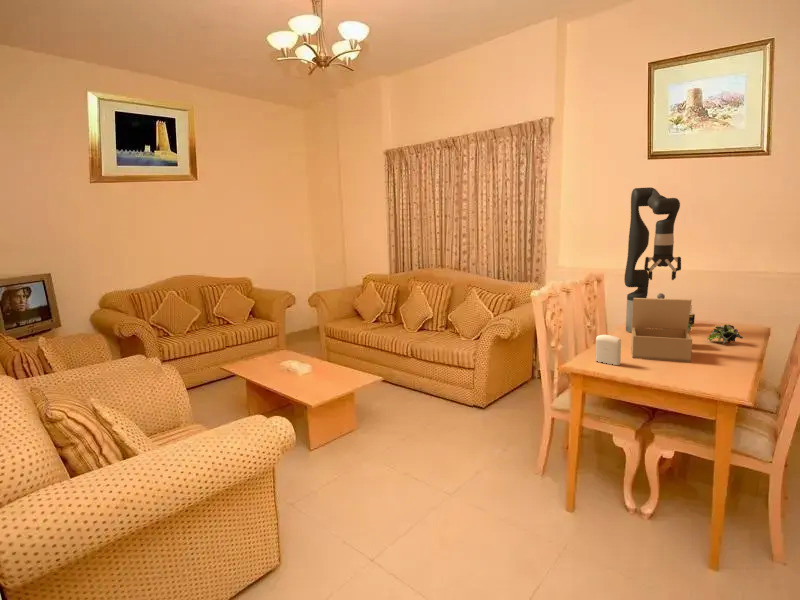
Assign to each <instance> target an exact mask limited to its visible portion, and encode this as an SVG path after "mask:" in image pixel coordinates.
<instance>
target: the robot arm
mask: <svg viewBox="0 0 800 600" xmlns="http://www.w3.org/2000/svg"><path fill="white" fill-rule="evenodd" d="M640 207H649V208H650V209H651V210H652V213H653V214H654V215H658V216H659V215H660V216H661V215H668V216H667V217H666V218H664V219H661V220H657V221H656V222H655V233H654V240H653V255H652V257H649V256H645V259H644V266H643V269H636V265H637V263H638V261H639V259H640V258H641V256H642V255H643V254H644V252H645V251H646V250H647V248H648V246H649V241H650V230H649V228H648V226H647V225H646V223H645V222H644V221H643V218H642V217H641V214H640ZM680 208H681V201H680V199H679V198H677V197H666V196H663V195H662V194H660V192H658V190H657V189H656V188H654V187H635V188H633V189H632V191H631V195H630V225H629V232H628V245H627V259H626V265H625V270H624V271H625V272H624V284H625V286H626V288H637V289H635V290H634V291H632V292H630V293H628V294H626V316H625V319H626V320H625V331H626V332H628V333H632V314H633V299H634V298H648V293H649V292H648V291H649V284H650V281H652V280H653V270H654V269H656V268H657V267H664V268H665V267H669V268H670V269H671V281H674V280H676V278H677V272H680V271H681V270H682V258H681V256H677V257H676V256H675V257H674V243H675V240H674V230H675V223H676V222H675V221H676V220H677V219H676V218H677V216H678V214H679V211H680ZM651 261H652V262H653V264H652V265H651V266H650V267H649V263H650V262H651ZM673 261H675V262H676V263H677V264H676V267H675V266H673V264H672V262H673Z"/></svg>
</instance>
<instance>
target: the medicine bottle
mask: <svg viewBox="0 0 800 600" xmlns="http://www.w3.org/2000/svg"><path fill="white" fill-rule="evenodd" d="M692 309H693V305H692V304H691V308H690V315H689V322H688V323H689V324H691V327H693V328H694V327H695V319H696V317H695V316H696V314H695V313H694V312H692V311H693V310H692Z"/></svg>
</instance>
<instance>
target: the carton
mask: <svg viewBox="0 0 800 600" xmlns="http://www.w3.org/2000/svg"><path fill="white" fill-rule="evenodd" d="M630 349H631V356H632V358H633V359H639V358H642V359H641V360H655V361H667V362H678V363H679V362H680V363H691V362H692V352H693V351H692V349H693V338H692V336H691V334H690V335H689V333H688V331H687V330H668V329H651V328H632V332H631V347H630Z"/></svg>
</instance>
